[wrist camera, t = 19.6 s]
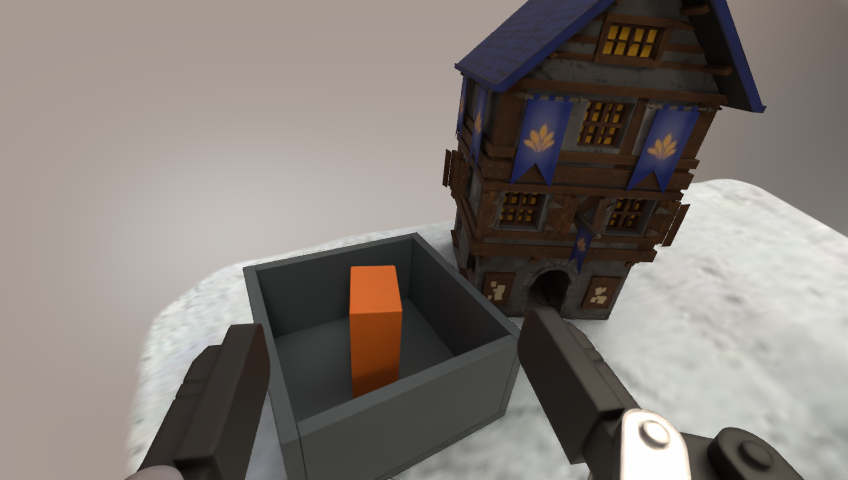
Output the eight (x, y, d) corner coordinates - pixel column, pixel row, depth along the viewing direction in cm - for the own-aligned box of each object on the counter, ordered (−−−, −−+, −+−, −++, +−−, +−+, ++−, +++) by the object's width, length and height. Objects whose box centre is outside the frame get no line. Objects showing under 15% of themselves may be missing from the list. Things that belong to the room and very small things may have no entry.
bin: (411, 297, 36) (416, 231, 32) (504, 415, 26) (529, 337, 22) (258, 343, 30) (242, 267, 26) (298, 529, 19) (280, 446, 15)
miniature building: (445, 349, 31) (519, -128, 16) (430, 232, 49) (457, -39, 34) (651, 353, 32) (897, -77, 17) (562, 238, 50) (643, -19, 35)
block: (391, 343, 30) (395, 264, 26) (397, 394, 25) (402, 310, 21) (353, 345, 29) (350, 266, 25) (352, 399, 25) (349, 313, 21)
